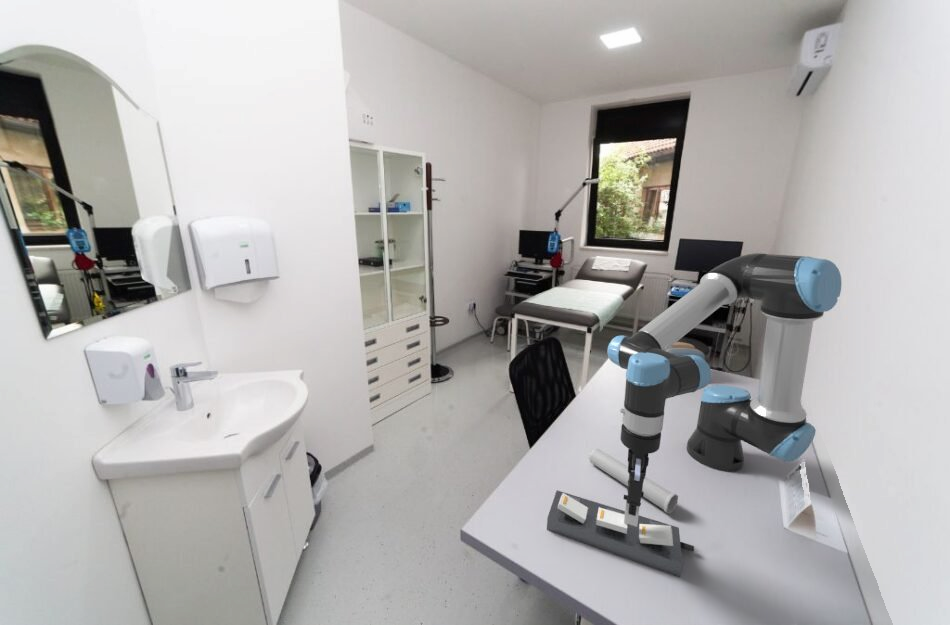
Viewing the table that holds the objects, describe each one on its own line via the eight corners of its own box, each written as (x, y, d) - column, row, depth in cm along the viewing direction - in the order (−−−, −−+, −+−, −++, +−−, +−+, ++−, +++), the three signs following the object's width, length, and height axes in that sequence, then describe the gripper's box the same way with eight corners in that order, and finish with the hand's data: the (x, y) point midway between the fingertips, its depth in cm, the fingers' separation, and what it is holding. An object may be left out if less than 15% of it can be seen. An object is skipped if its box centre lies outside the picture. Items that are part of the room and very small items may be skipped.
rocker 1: (585, 511, 88) (588, 507, 87) (583, 523, 84) (585, 519, 83) (560, 496, 90) (563, 492, 89) (557, 508, 86) (559, 503, 85)
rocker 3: (672, 531, 80) (670, 525, 80) (673, 545, 76) (671, 539, 76) (640, 529, 83) (639, 523, 83) (640, 542, 79) (638, 536, 79)
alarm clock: (664, 380, 169) (669, 348, 165) (654, 367, 184) (658, 337, 180) (703, 383, 166) (709, 350, 162) (689, 369, 182) (694, 339, 178)
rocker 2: (627, 520, 84) (628, 515, 83) (626, 533, 80) (627, 527, 80) (598, 512, 86) (598, 506, 86) (596, 524, 83) (596, 518, 82)
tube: (598, 445, 113) (680, 492, 93) (593, 461, 114) (674, 512, 93) (588, 445, 110) (670, 495, 90) (583, 462, 110) (664, 515, 90)
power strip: (691, 544, 83) (694, 530, 82) (696, 583, 74) (699, 567, 73) (555, 501, 96) (556, 488, 95) (546, 529, 87) (547, 515, 86)
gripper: (623, 409, 83) (614, 497, 88) (619, 439, 71) (610, 539, 77) (660, 416, 80) (648, 507, 85) (662, 448, 68) (649, 551, 74)
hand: (630, 522), depth 81 cm, fingers closed, pressing on rocker 2
